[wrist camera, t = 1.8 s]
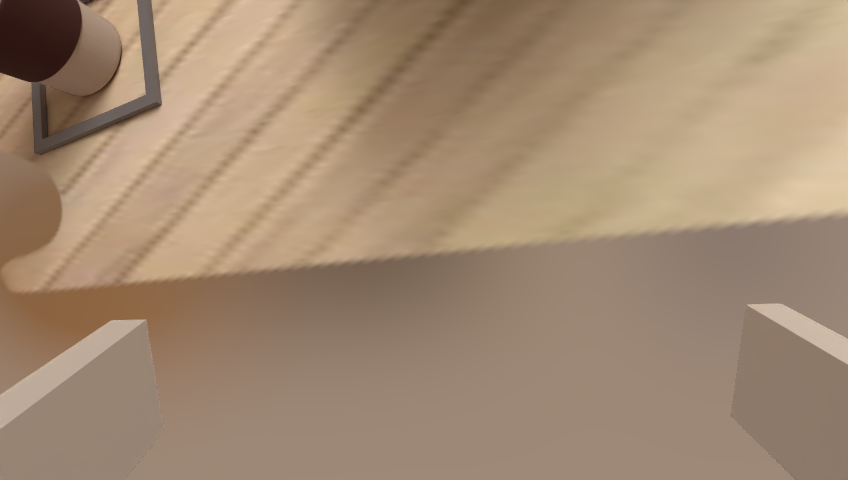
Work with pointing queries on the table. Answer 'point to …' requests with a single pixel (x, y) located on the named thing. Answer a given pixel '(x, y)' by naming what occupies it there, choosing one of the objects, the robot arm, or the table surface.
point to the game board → (110, 117)
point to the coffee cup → (58, 45)
